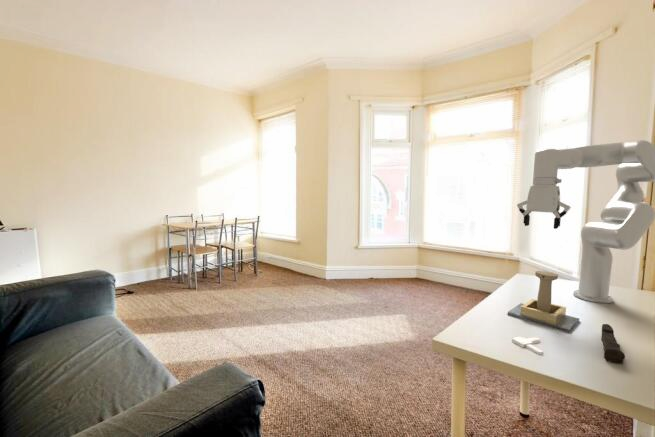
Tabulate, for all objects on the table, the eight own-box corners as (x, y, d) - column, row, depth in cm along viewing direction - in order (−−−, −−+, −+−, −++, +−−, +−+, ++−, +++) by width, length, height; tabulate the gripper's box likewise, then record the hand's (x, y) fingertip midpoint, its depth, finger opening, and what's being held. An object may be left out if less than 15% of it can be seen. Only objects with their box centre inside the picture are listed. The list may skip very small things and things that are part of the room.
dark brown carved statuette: (623, 366, 82) (626, 350, 81) (603, 361, 84) (605, 344, 84) (616, 339, 97) (618, 324, 96) (599, 335, 99) (600, 320, 99)
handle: (550, 320, 107) (554, 276, 105) (529, 313, 112) (533, 272, 110) (556, 316, 110) (560, 274, 108) (535, 310, 115) (539, 270, 113)
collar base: (520, 305, 122) (521, 295, 121) (579, 321, 108) (580, 310, 108) (507, 314, 113) (508, 303, 113) (569, 332, 100) (570, 320, 99)
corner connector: (557, 353, 89) (558, 347, 89) (536, 357, 87) (536, 351, 87) (532, 339, 97) (532, 334, 97) (511, 343, 95) (512, 338, 94)
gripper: (575, 182, 116) (570, 228, 118) (522, 182, 129) (519, 223, 131) (569, 182, 111) (565, 230, 113) (515, 182, 124) (512, 225, 126)
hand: (540, 226), depth 122 cm, fingers open, 9 cm apart
